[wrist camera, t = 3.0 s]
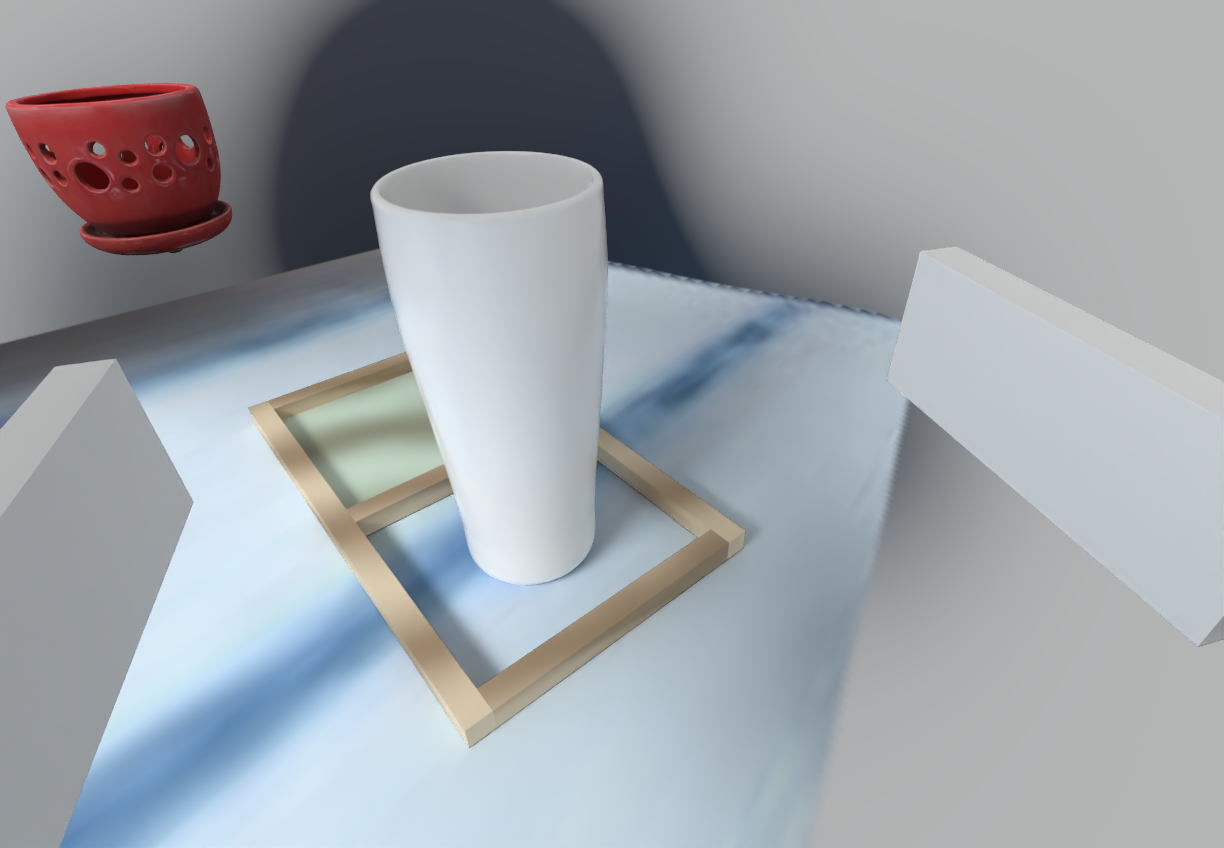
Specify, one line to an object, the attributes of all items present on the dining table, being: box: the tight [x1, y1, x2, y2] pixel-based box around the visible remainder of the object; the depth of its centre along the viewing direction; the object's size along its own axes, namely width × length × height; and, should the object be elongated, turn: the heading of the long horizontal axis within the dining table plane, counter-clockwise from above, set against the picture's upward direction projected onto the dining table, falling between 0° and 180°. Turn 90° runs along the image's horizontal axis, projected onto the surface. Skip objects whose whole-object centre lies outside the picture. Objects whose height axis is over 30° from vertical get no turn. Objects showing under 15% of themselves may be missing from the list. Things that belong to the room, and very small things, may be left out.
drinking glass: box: [371, 151, 608, 585], centre depth 23 cm, size 7×7×15 cm
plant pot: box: [6, 83, 232, 255], centre depth 55 cm, size 13×13×12 cm
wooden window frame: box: [248, 352, 746, 748], centre depth 31 cm, size 23×13×1 cm, turn 40°
